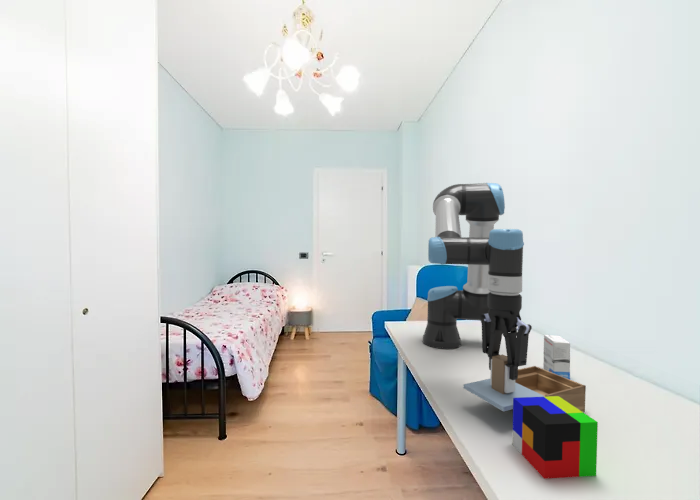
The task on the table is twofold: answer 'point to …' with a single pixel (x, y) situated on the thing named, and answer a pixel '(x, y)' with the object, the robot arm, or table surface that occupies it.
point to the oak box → (552, 385)
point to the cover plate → (497, 396)
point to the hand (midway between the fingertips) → (502, 387)
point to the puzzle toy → (555, 437)
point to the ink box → (557, 355)
